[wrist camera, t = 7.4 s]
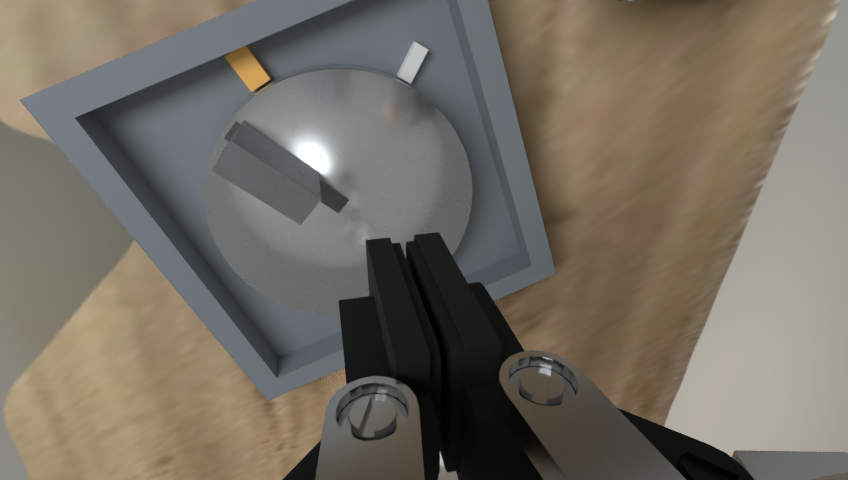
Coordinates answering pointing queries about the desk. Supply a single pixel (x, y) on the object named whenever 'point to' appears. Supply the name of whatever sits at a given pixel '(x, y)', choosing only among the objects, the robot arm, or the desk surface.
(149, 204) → the square tray
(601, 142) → the desk surface
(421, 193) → the dial
